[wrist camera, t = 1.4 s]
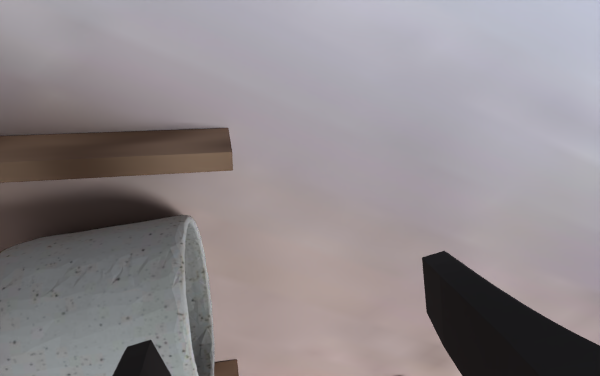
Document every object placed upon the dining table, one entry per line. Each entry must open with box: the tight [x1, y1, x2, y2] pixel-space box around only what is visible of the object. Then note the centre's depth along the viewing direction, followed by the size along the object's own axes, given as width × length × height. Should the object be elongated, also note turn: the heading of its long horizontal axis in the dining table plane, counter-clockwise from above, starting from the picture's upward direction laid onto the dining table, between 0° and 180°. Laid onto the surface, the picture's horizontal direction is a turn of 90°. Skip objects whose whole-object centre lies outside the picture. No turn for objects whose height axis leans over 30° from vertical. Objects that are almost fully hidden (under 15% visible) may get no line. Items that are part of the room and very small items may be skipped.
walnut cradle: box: [0, 128, 239, 376], centre depth 22 cm, size 10×15×2 cm, turn 178°
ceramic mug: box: [0, 215, 214, 376], centre depth 20 cm, size 11×8×8 cm
